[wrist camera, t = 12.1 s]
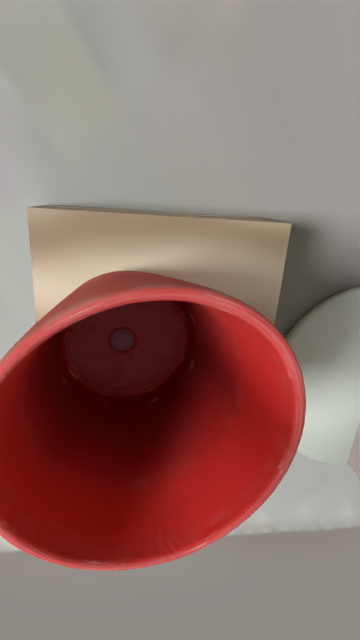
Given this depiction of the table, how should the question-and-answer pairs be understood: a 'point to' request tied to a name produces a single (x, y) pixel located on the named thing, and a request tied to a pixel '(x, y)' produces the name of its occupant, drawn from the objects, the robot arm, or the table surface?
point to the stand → (156, 251)
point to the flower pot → (143, 422)
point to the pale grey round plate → (330, 376)
